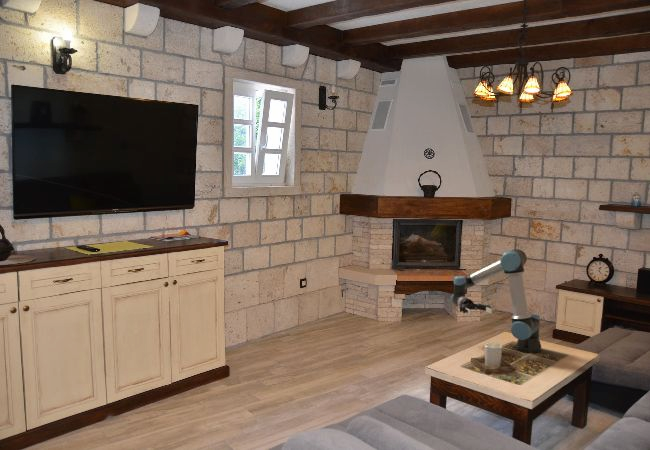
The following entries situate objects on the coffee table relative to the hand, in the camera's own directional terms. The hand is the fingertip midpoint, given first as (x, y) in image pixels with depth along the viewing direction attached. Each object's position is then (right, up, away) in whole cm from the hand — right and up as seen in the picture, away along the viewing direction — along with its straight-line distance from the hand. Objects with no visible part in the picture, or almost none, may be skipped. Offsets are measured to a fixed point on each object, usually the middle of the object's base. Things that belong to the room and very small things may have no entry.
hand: (481, 312), depth 315 cm
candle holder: (+3, -29, -13) cm, 32 cm away
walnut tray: (+3, -29, -13) cm, 32 cm away
